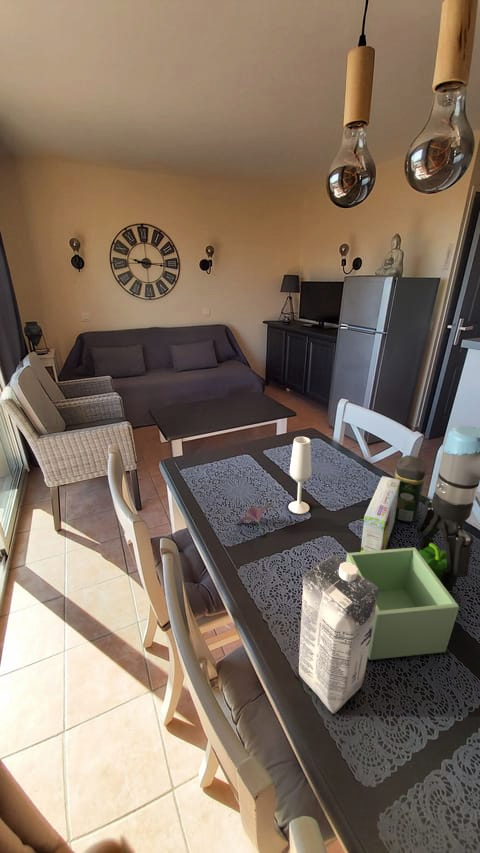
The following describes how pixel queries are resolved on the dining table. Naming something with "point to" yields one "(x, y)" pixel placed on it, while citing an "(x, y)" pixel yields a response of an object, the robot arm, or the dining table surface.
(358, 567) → the open storage box
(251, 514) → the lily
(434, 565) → the bell pepper
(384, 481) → the snack box
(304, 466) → the champagne flute
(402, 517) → the coffee jar
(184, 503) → the dining table surface
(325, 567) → the juice carton
